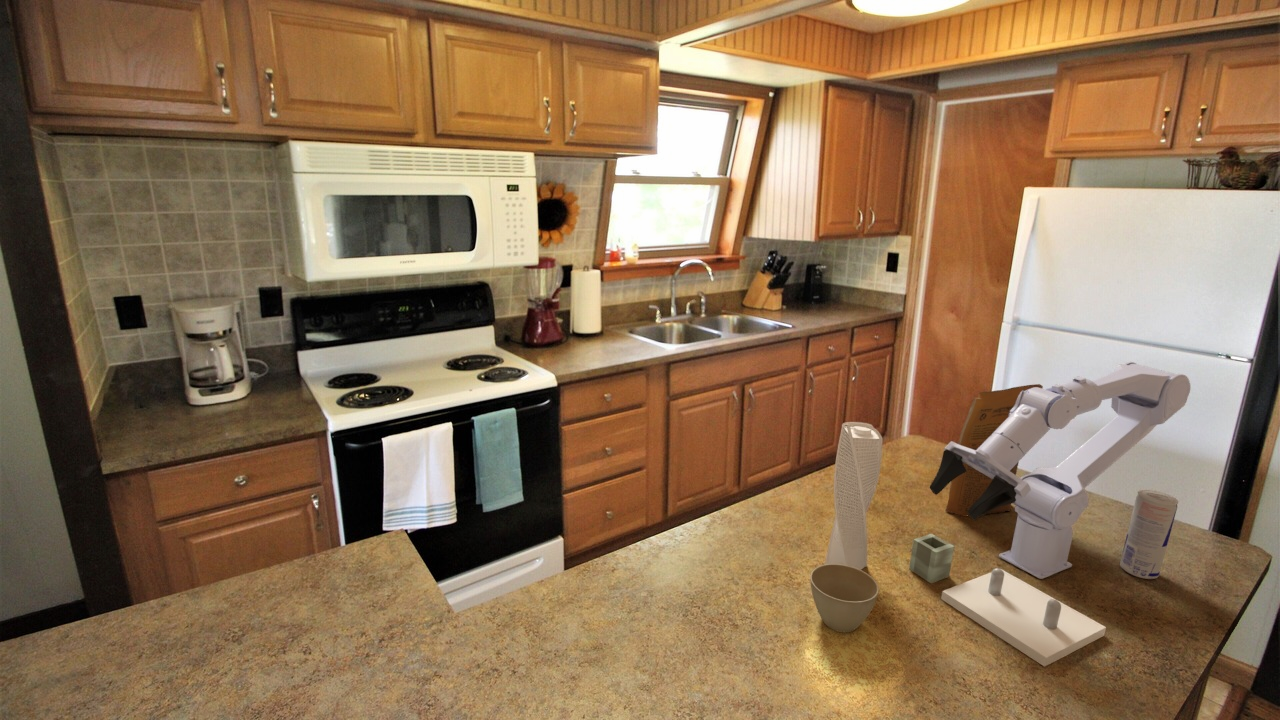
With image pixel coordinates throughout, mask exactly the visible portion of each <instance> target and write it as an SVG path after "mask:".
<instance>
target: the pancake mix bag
mask: <svg viewBox="0 0 1280 720" xmlns="http://www.w3.org/2000/svg"><path fill="white" fill-rule="evenodd" d="M1034 387H1039V388H1042V389H1044V387H1043V385H1041V384H1040V383H1038V384H1035V383H1034V384H1027V385H1019V386H1015V387H1013V386H1012V387H1010V388H1005V389H999V390H991V391H989V390H988V391H982V392H978V397H974V398H973V400H972V403H971V406H970V408H969V409H968V414H967V417H966V419H965V421H964V423H963V427H962V430H961V431H960V434H959V435H960V436H959V439H958V443H957V444H959V445H962V446H964V447H967V448H970V449H973V450H977V449H978V448H979V447H980V446H981V445H982V444H983V443H984V442H985V441H986V440H987V439H988V438H989V437H990V436H991V435H992V433H993V432H994V431H995V430H996V429H997V428H998V427H999V426H1000V425H1001V424H1002V423H1003V422H1004V421H1005V420H1006V419H1007V418H1008V417H1009V413H1010V410H1011V409H1012V408H1013V407H1014V406H1015V404H1016V400H1017V398H1018V396H1019V394H1020V393H1021V392H1022V391H1026V390H1027V389H1031V388H1034ZM1019 462H1020V461H1019ZM1019 462H1018V463H1017V464H1016V465H1015V466H1014V467H1013V468H1012V469H1011V470H1010V472H1012V473H1013V474H1014V475H1016V476H1017V471H1018V466H1019ZM963 465H964V467H965V469H966V472H965V473H963V474H961V475H959V476H958V477H956V478H955V479H954V480H952V481H951V482H950V486H949V492H948V501H947V504H946V507H945V512H946V513H950V514H953V513H955V514H954V515H956V514H959V515H958V516H960V515H968V516H967V517H970V515H969V513H968V510H969V509H970V507H971V506H972V505H973V504H974V503H975V502H976V501H977V500H978V499H979V498H980V497H981V496H982V495H983V493H984V492H985V491H986V489H987V488H988V486H989V485H990V483H991V482H992V480H993V479H992V478H990V477H988V476H986V475H985V474H983V473H981V472H979V471H978V470H976V469H974V468H972V467H971V466H969V465H967V464H966V463H963ZM1011 507H1012V504H1007V505H1004V506H1000V507H998V508H995V509H993V510H991V511H989V512H987V513H985V514H984V515H988V513H990V514H997V513H996V512H999V513H1006V512H1005V511H1009V510H1010V511H1011V509H1012V508H1011Z"/></svg>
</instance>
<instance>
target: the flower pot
mask: <svg viewBox="0 0 1280 720" xmlns="http://www.w3.org/2000/svg"><path fill="white" fill-rule="evenodd" d="M809 582H810V589H811V590H810V591H811V594H812V598H813V601H814V605H815V606H816V609H817V613H818V614H819V616H820V618H821V619H822V622H823V623H824V624H825V626H827V627H828V628H829V629H830V630H832V631H836V632H839V633H851V632H854V631H855V630H856V629H857V628H859V627H860V626H861V624H863V623H864V621H865V620H866V619H867V618H868V616H869V615H870V613H871V612H872V610H873V608H874V606H875V604H876V602H877V599H878V595H879V592H880V586H879V584H878V582H877V581H876V579H875V578H874V577H873V576H871V575H870V574H869V573H867V572H865V571H864V570H863V569H861V570H860V569H858V568H855V567H852V566H848V565H842V564H825V563H824V564H821V565H819V566H816V567H815V568H813V570H812V571H811V572H810V581H809Z"/></svg>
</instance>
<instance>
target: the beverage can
mask: <svg viewBox="0 0 1280 720" xmlns="http://www.w3.org/2000/svg"><path fill="white" fill-rule="evenodd" d="M1178 504H1179V500H1178V499H1177V498H1176V497H1174V496H1172V495H1170V494H1167V493H1165V492H1161V491H1157V490H1153V489H1139V490H1138V491H1137V494H1136V497H1135V501H1134V504H1133V510H1132V513H1131V516H1130V517H1131V518H1130V522H1129V524H1128V525H1129V526H1128V529H1127V533H1126V538H1125V541H1124V545H1123V550H1122V553H1121V557H1120V562H1119V566H1120V567H1121V569H1123V570H1124V571H1125V572H1126V573H1128V574H1130V575H1131V576H1134V577H1137V578H1140V579H1146V580H1154V579H1157V578H1159V577H1160V572H1161V569H1162V566H1163V562H1164V559H1165V554H1166V552H1167V547H1168V543H1169V540H1170V535H1171V532H1172V529H1173V528H1172V527H1173V524H1174V521H1175V517H1176V513H1177V510H1178Z"/></svg>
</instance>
